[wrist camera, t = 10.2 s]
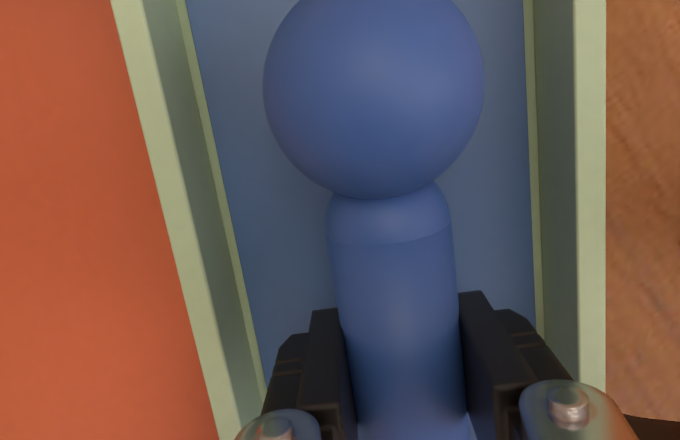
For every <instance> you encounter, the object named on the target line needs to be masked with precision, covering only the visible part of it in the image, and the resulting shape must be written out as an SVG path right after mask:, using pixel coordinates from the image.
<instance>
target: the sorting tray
mask: <svg viewBox="0 0 680 440" xmlns="http://www.w3.org/2000/svg"><path fill="white" fill-rule="evenodd" d="M298 1H299V0H0V440H234V439H235V438H236V436H237V434H238V433H239V431H240V430H241V429H242V428H243V427H244V426H245V425H246V424H248V423H249V422H250V421H252V420H253V419H255V418H257V417H258V416H260V415H261V411H262V408H263V404H264V400H265V397H266V393H267V390H268V386H269V382H270V379H271V377H272V372H273V368H274V365H275V361H276V357H277V354H278V350H279V347H280V346H281V345H282V344H283V343H284V342H285V341H286V340H287V339H288V338H289V337H290V336H291V335H292V334H299V333H307V332H309V327H310V321H311V315H312V311H313V310H320V309H328V308H336V307H337V302H336V295H335V289H334V283H333V277H332V271H331V264H330V258H329V252H328V246H327V239H326V230H325V217H326V210H327V207H328V204H329V201H330V199H331V197H332V195H333V193H334V192H332V191H330V190H328V189H326V188H323V187H321V186H319V185H318V184H316V183H315V182H313V181H312V180H310V179H309V178H307V177H306V176H305V175H304V174H303V173H301V172H300V171H299V170H298V169H297V168H296V167H295V166H294V165H293V164H292V163H291V162H290V161H289V159H288V158H287V157H286V155H285V154H284V153H283V151H282V150H281V148H280V147H279V145H278V143H277V141H276V139H275V138H274V136H273V133H272V131H271V128H270V126H269V123H268V120H267V116H266V112H265V108H264V99H263V73H264V66H265V61H266V57H267V53H268V49H269V46H270V44H271V42H272V39H273V37H274V34H275V32H276V31H277V29H278V27H279V25H280V24H281V22H282V20H283V19H284V18H285V16H286V15H287V14H288V12H289V11H290V10H291V8H292V7H293V6H294V5H295V4H296V3H297V2H298ZM451 1H452V2H453V3H454V4H455V5H456V6H457V7H458V8H459V10H460V11H461V12H462V13H463V15H464V16H465V17H466V19H467V21H468V23H469V24H470V26H471V28H472V29H473V32H474V34H475V36H476V39H477V41H478V44H479V47H480V51H481V54H482V58H483V65H484V73H485V92H484V100H483V106H482V110H481V114H480V118H479V121H478V123H477V126H476V128H475V131H474V133H473V135H472V137H471V139H470V141H469V142H468V144H467V146H466V147H465V149H464V150H463V152H462V153H461V154H460V156H459V157H458V158H457V159H456V160H455V162H454V163H453V164H452V165H451V166H450V167H449V168H448V169H447V170H446V171H444V172H443V173H442V174H441V175H440V176H438V177H437V178H436V179H434V180H433V181H434V182H435V183H436V184H437V185H438V187H439V188H440V189H441V191H442V192H443V194H444V197H445V199H446V201H447V204H448V206H449V210H450V215H451V222H452V234H453V245H454V256H455V268H456V279H457V291H458V293H460V292H468V291H476V290H481V291H482V292H483V293H484V295H485V297H486V298H487V300H488V301H489V303H490V304H491V306H492V308H493V309H494V310H501V309H511V310H513V311H515V312H516V313H518V314H520V315H522V316H524V317H525V318H527V319H528V320H529V322H530V323H531V324H532V326H533V327H534V328H535V329H536V331H537V334H539V335H540V336H541V337H542V339H543V340H544V341H545V343H546V346H548V347H549V348H550V349H551V351H552V352H553V353H554V355H555V356H556V357H557V359H558V360H559V361H560V363H561V364H562V365H563V366H564V368H565V369H566V370H567V372H568V373H569V374H570V376H571V377H572V378H573V380H574V381H577V382H581V383H585V384H588V385H590V386H593V387H595V388H597V389H599V390H601V391H602V392H604V393H605V305H606V0H451ZM469 427H470V438H471V440H477V437H476V434H475V432H474V429H473V426H472V423H471V420H470V418H469ZM358 440H359V438H358Z"/></svg>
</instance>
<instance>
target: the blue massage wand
mask: <svg viewBox="0 0 680 440" xmlns="http://www.w3.org/2000/svg"><path fill="white" fill-rule="evenodd" d="M484 92H485V73H484V65H483V58H482V54H481V51H480V47H479V44H478V41H477V39H476V36H475V34H474V32H473V29H472V28H471V26H470V24H469V23H468V21H467V19H466V17H465V16H464V15H463V13H462V12H461V11H460V10H459V8H458V7H457V6H456V5H455V4H454V3H453V2H452V1H451V0H299V1H298V2H297V3H296V4H295V5H294V6H293V7H292V8H291V10H290V11H289V12H288V14H287V15H286V16H285V18H284V19H283V20H282V22H281V24H280V25H279V27H278V29H277V31H276V32H275V34H274V37H273V39H272V42H271V44H270V46H269V49H268V53H267V57H266V61H265V66H264V73H263V99H264V108H265V112H266V116H267V120H268V123H269V126H270V128H271V131H272V133H273V136H274V138H275V139H276V141H277V143H278V145H279V147H280V148H281V150H282V151H283V153H284V154H285V155H286V157H287V158H288V159H289V161H290V162H291V163H292V164H293V165H294V166H295V167H296V168H297V169H298V170H299V171H300V172H301V173H303V174H304V175H305V176H306V177H307V178H309V179H310V180H312V181H313V182H315V183H316V184H318V185H319V186H321V187H323V188H326V189H328V190H330V191H332V192H334V193H333V195H332V197H331V199H330V201H329V204H328V207H327V210H326V217H325V230H326V239H327V246H328V252H329V258H330V264H331V271H332V277H333V283H334V289H335V295H336V302H337V308H338V314H339V320H340V325H341V327H342V329H343V335H344V341H345V348H346V354H347V360H348V367H349V373H350V379H351V385H352V392H353V398H354V404H355V410H356V417H357V423H358V438H359V440H471V438H470V427H469V415H468V412H467V401H466V390H465V378H464V367H463V356H462V344H461V333H460V322H459V302H458V291H457V279H456V268H455V256H454V245H453V234H452V222H451V215H450V210H449V206H448V204H447V201H446V199H445V197H444V194H443V192H442V191H441V189H440V188H439V187H438V185H437V184H436V183H435V182H434V181H433V180H434V179H436V178H437V177H438V176H440V175H441V174H442V173H443V172H444V171H446V170H447V169H448V168H449V167H450V166H451V165H452V164H453V163H454V162H455V160H456V159H457V158H458V157H459V156H460V154H461V153H462V152H463V150H464V149H465V147H466V146H467V144H468V142H469V141H470V139H471V137H472V135H473V133H474V131H475V128H476V126H477V123H478V121H479V118H480V114H481V110H482V106H483V100H484Z"/></svg>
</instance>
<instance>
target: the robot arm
mask: <svg viewBox="0 0 680 440" xmlns="http://www.w3.org/2000/svg"><path fill="white" fill-rule="evenodd" d="M458 302H459V322H460V333H461V344H462V356H463V367H464V378H465V390H466V401H467V412H468V415H469V418H470V420H471V423H472V426H473V429H474V432H475V434H476V437H477V440H680V422H675V421H666V420H657V419H648V418H640V417H634V416H630V415H625V414H623V413H622V412H621V410H620V409H619V407H618V406H617V404H616V403H615V402H614V400H613V399H612V398H610V397H609V396H608V395H607V394H605V393H604V392H602V391H601V390H599V389H597V388H595V387H593V386H590V385H588V384H585V383H581V382H577V381H574V380H573V378H572V377H571V376H570V374H569V373H568V372H567V370H566V369H565V368H564V366H563V365H562V364H561V363H560V361H559V360H558V359H557V357H556V356H555V355H554V353H553V352H552V351H551V349H550V348H549V347H548V346H546V343H545V341H544V340H543V339H542V337H541V336H540V335H539V334H537V331H536V329H535V328H534V327H533V326H532V324H531V323H530V322H529V320H528V319H527V318H525V317H524V316H522V315H520V314H518V313H516V312H515V311H513V310H511V309H501V310H494V309H493V308H492V306H491V304H490V303H489V301H488V300H487V298H486V297H485V295H484V293H483V292H482V291H481V290H476V291H468V292H460V293H458ZM234 440H358V423H357V417H356V410H355V404H354V398H353V392H352V385H351V379H350V373H349V367H348V360H347V354H346V348H345V341H344V335H343V329H342V327H341V325H340V320H339V314H338V308H337V307H336V308H328V309H320V310H313V311H312V315H311V321H310V327H309V332H307V333H299V334H292V335H291V336H290V337H289V338H288V339H287V340H286V341H285V342H284V343H283V344H282V345H281V346H280V347H279V350H278V354H277V357H276V361H275V365H274V368H273V372H272V377H271V379H270V382H269V386H268V390H267V393H266V397H265V400H264V404H263V408H262V411H261V415H260V416H258V417H257V418H255V419H253V420H252V421H250V422H249V423H248V424H246V425H245V426H244V427H243V428H242V429H241V430H240V431H239V433H238V434H237V436H236V438H235V439H234Z"/></svg>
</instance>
